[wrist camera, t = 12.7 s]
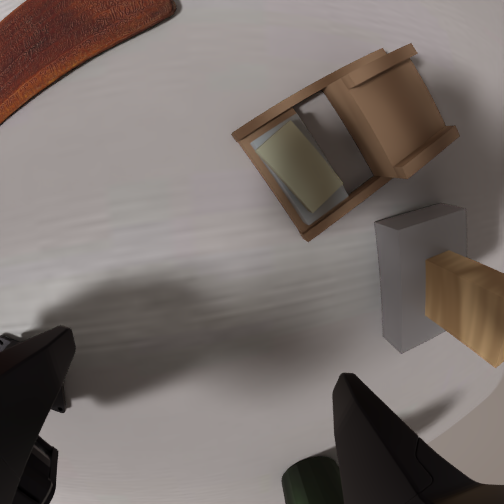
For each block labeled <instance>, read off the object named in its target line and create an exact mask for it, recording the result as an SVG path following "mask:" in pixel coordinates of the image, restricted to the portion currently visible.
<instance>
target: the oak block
mask: <svg viewBox="0 0 504 504" xmlns="http://www.w3.org/2000/svg"><path fill="white" fill-rule="evenodd" d="M425 262H426V301H425V316H427V317H428V318H429V319H431V320H432V321H434V322H435V323H436V324H438V325H439V326H440V327H442V328H443V329H444V330H446V331H447V332H449V333H450V334H451V335H453V336H454V337H455V338H457V339H458V340H459V341H461V342H462V343H463V344H465V345H466V346H467V347H469V348H470V349H471V350H473V351H474V352H475V353H477V354H478V355H479V356H480V357H482V358H483V359H484V360H486V361H487V362H488V363H490V364H491V365H492V366H493V367H495V368H496V367H497V366H499V365H500V364H501V363H502V362H504V273H501V272H499V271H497V270H495V269H492V268H490V267H488V266H486V265H483V264H481V263H479V262H476V261H474V260H471V259H469V258H467V257H464V256H462V255H459V254H457V253H455V252H452V251H450V250H448V251H446V252H443V253H441V254H438V255H436V256H433V257H431V258H428V259H426V260H425Z"/></svg>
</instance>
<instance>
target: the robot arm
mask: <svg viewBox="0 0 504 504" xmlns="http://www.w3.org/2000/svg"><path fill="white" fill-rule="evenodd" d="M2 341H3V342H2ZM74 354H75V343H74V338H73V334H72V330H71V329H70V328H69V327H65V326H62V325H60V326H57V327H55V328H53V329H51V330H48V331H46V332H44V333H41V334H39V335H37V336H35V337H32V338H30V339H28V340H26V341H23V342H21V343H20V342H18V341H15V340H13V339H10V338H8V337H5V336H3V335H0V504H49V503H50V501H51V500H52V498H53V495H54V493H55V489H56V475H57V461H58V450H57V449H55V448H54V447H53V446H50V445H49V444H48V443H47V442H46V441H44V440H43V439H42V438H41V437H40V436H39V432H40V430H41V428H42V426H43V424H44V422H45V419H46V417H47V415H48V413H49V411H50V409H52V410H55V411H57V412H60V413H64V412H65V411H66V402H65V395H64V387H63V382H64V379H65V376H66V374H67V371H68V369H69V366H70V363H71V361H72V359H73V356H74ZM332 397H333V418H334V436H335V443H336V450H337V456H338V462H339V469H340V476H341V483H342V490H343V497H344V504H504V485H488V484H481V483H478V482H475V481H473V480H472V479H470V478H469V477H467V476H466V475H465V474H463V473H462V472H461V471H459V470H458V469H456V468H455V467H454V466H453V465H451V464H450V463H449V462H447V461H446V460H445V459H444V458H442V457H441V456H440V455H439V454H437V453H436V452H435V451H434V450H433V449H432V448H431V447H429V446H428V445H427V444H426V443H425V442H424V441H423V440H422V439H421V438H420V437H419V438H418V435H417V434H416V433H415V432H414V431H413V430H412V429H410V428H409V427H408V426H407V425H406V424H405V423H404V422H403V421H402V420H401V419H400V418H399V417H398V416H397V415H396V414H395V413H394V412H393V411H392V410H391V409H390V408H389V407H388V406H387V405H386V404H385V403H384V402H383V401H382V400H381V399H380V398H378V397H377V396H376V395H375V394H374V393H373V392H372V391H371V390H370V389H369V388H368V387H367V386H366V385H365V384H364V383H363V382H362V381H361V380H360V379H359V378H358V377H357V376H356V375H355V374H353V373H342V374H341V375H340V376H339V379H338V381H337V383H336V385H335V387H334V390H333V395H332Z"/></svg>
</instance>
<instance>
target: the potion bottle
mask: <svg viewBox="0 0 504 504" xmlns="http://www.w3.org/2000/svg"><path fill="white" fill-rule="evenodd" d="M282 486H283V492H284V497H285V503H286V504H344V497H343V490H342V483H341V476H340V469H339V467H338V465H337V463H336V462H335V460H333V459H330V458H328V457H314V458H309V459H306V460H303V461H301V462H298V463H296V464H295V465H293V466H292V467H290V468H289V469H288V470H287V471H286V472H285V473H284V474H283V476H282Z"/></svg>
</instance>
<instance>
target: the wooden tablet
mask: <svg viewBox="0 0 504 504" xmlns="http://www.w3.org/2000/svg"><path fill="white" fill-rule="evenodd" d="M175 10H176V4H175V2H174V1H173V0H26V1H25V2H24V3H22V4H21V5H20V6H18V7H17V8H16V9H15V10H14V11H12V12H11V13H10V14H9V15H8V16H6V17H5V18H4V19H3V20H2V21H1V22H0V124H1V123H2V122H3V121H4V120H5V119H6V118H7V117H9V116H10V115H11V114H12V113H13V112H14V111H15V110H17V109H18V108H19V107H20V106H22V105H23V104H24V103H25V102H27V101H28V100H29V99H30V98H32V97H33V96H34V95H36V94H37V93H38V92H40V91H41V90H43V89H44V88H46V87H47V86H49V85H50V84H52V83H53V82H54V81H56V80H57V79H58V78H60V77H61V76H63V75H64V74H66V73H67V72H69V71H70V70H72V69H74V68H75V67H77V66H78V65H80V64H82V63H83V62H85V61H86V60H88V59H90V58H92V57H94V56H95V55H97V54H99V53H101V52H103V51H105V50H107V49H109V48H111V47H113V46H115V45H116V44H118V43H120V42H122V41H124V40H126V39H128V38H130V37H133V36H134V35H136V34H138V33H140V32H142V31H144V30H146V29H148V28H150V27H152V26H154V25H156V24H157V23H159V22H161V21H163V20H164V19H166V18H168V17H170V16H171V15H173V14H174V12H175Z"/></svg>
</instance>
